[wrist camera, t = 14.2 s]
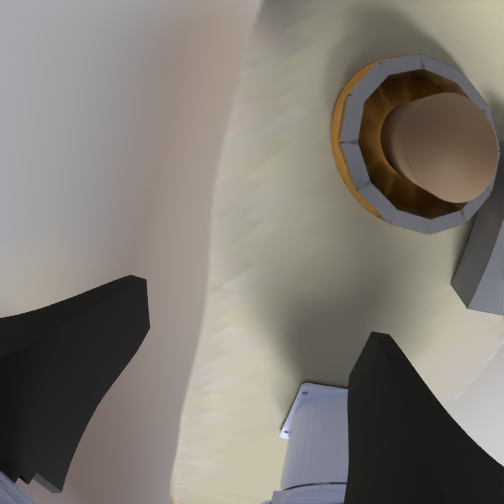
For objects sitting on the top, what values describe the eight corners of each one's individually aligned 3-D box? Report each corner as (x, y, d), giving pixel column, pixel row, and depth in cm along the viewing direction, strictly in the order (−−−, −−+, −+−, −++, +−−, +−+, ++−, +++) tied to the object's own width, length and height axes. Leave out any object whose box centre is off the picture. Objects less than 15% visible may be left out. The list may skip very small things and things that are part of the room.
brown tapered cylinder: (441, 190, 14) (483, 215, 9) (373, 169, 14) (397, 185, 10) (456, 118, 12) (503, 118, 7) (387, 92, 12) (417, 76, 8)
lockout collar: (461, 242, 15) (476, 257, 13) (315, 204, 16) (316, 215, 14) (492, 95, 10) (512, 93, 8) (343, 38, 12) (347, 24, 10)
